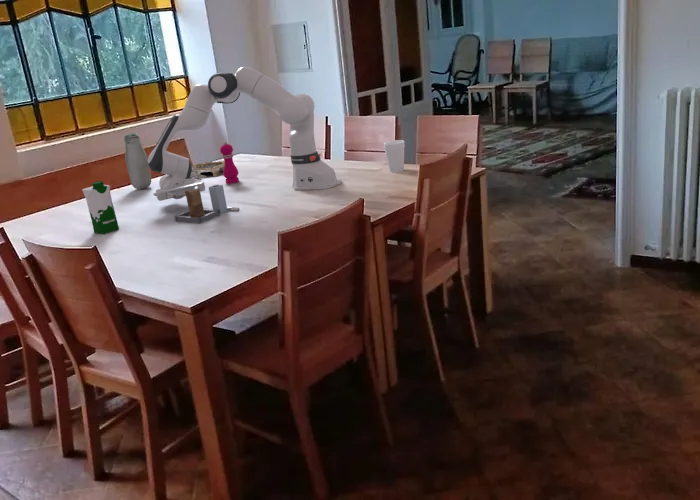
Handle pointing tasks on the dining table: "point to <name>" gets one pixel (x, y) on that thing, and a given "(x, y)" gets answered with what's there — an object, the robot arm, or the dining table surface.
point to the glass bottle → (136, 162)
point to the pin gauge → (232, 209)
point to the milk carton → (101, 208)
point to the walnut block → (194, 203)
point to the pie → (209, 168)
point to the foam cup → (395, 155)
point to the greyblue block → (218, 198)
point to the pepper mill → (229, 164)
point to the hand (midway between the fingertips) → (185, 193)
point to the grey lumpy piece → (195, 175)
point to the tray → (186, 217)
